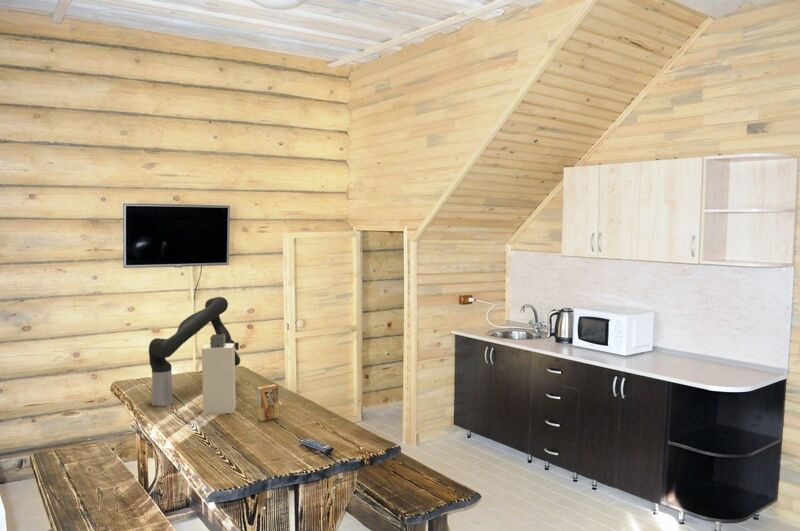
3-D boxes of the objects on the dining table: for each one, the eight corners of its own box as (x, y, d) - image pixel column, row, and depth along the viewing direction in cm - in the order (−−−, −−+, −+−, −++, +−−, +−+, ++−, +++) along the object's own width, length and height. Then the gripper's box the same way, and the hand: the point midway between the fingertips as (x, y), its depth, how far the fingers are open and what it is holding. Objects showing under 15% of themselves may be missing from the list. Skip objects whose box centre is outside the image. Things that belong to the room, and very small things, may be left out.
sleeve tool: (210, 347, 301) (210, 337, 300) (216, 339, 319) (216, 330, 319) (223, 347, 301) (223, 337, 301) (228, 339, 320) (228, 329, 320)
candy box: (274, 415, 301) (273, 383, 299) (278, 417, 297) (278, 385, 296) (257, 419, 295) (256, 387, 294) (261, 421, 292) (261, 389, 290)
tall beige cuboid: (203, 414, 302) (201, 348, 299) (206, 408, 312) (205, 344, 309) (233, 413, 304) (231, 347, 301) (235, 406, 314) (234, 343, 311)
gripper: (213, 345, 336) (208, 335, 321) (240, 344, 338) (237, 334, 323) (212, 359, 333) (207, 349, 318) (240, 358, 335) (236, 348, 320)
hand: (222, 342), depth 321 cm, fingers open, 8 cm apart
